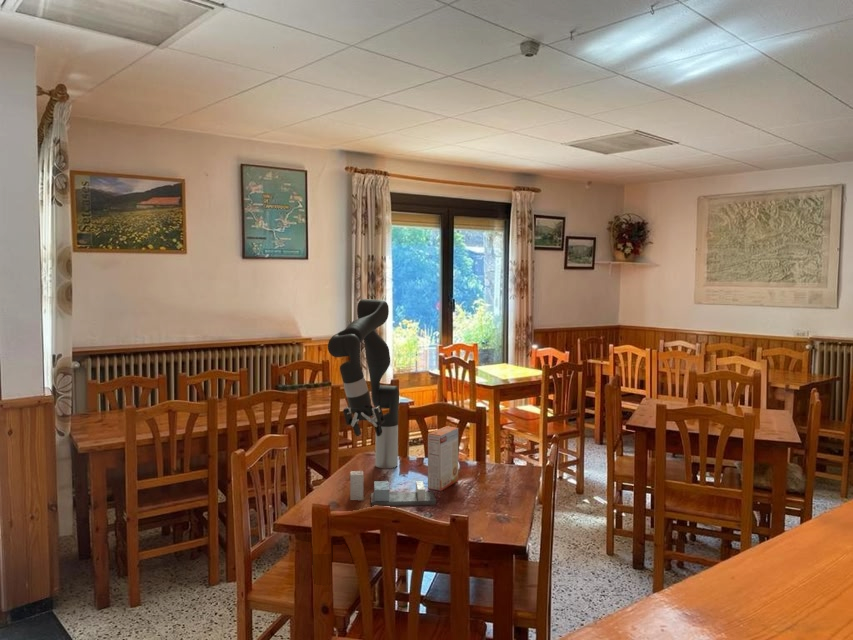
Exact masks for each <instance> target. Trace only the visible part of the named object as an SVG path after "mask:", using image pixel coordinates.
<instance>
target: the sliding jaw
mask: <svg viewBox="0 0 853 640" xmlns="http://www.w3.org/2000/svg"><path fill="white" fill-rule="evenodd" d="M389 483H390V482H389V481H388V480H381V481H380V480H376V481H373V493H374V500H375V501H389V493H390V486H389V485H390V484H389Z"/></svg>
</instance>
